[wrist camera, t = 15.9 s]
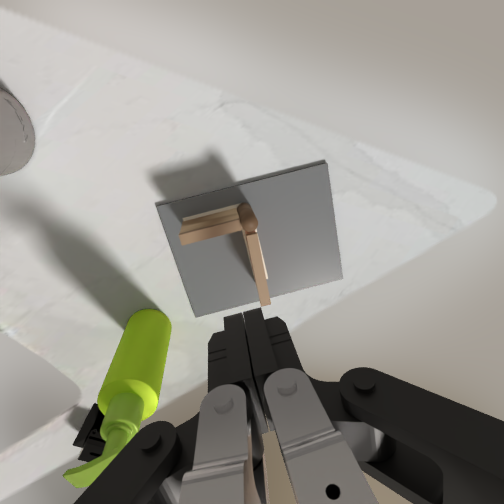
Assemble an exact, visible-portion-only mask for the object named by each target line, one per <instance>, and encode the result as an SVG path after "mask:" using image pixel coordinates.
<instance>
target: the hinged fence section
mask: <svg viewBox="0 0 504 504" xmlns="http://www.w3.org/2000/svg"><path fill="white" fill-rule="evenodd" d="M245 235H246V240H247V244H248V249H249V254H250V259H251V264H252V268H253V273H254V278H255V283H256V287H257V290H258V294H259V299H260V304H261V306H266V305H270V304H271V301H270V296H269V291H268V286H267V281H266V275H265V270H264V265H263V260H262V255H261V250H260V244H259V239H258V234H257V232H256V231H255V230H254V231H252V232H247V231H245Z"/></svg>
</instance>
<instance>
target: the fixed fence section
mask: <svg viewBox="0 0 504 504" xmlns="http://www.w3.org/2000/svg"><path fill="white" fill-rule="evenodd" d="M257 227H258V220H257V218H256V216H255V214H254V212H253V210H252V208H251V206H250V205H249V204H248V203H245V202H244V203H241V204H240V205H239V206H238V207H237V209H236V208H233V209H230V210H226V211H222V212H218V213H214V214H210V215H206V216H202V217H198V218H195V219H191V220H187V221H183V222H182V226H181V230H180V233H179V235H178V236H179V238H180V241H181V244H182V246H183V245H186V244H190V243H194V242H198V241H202V240H206V239H210V238H213V237H217V236H221V235H225V234H229V233H233V232H237V231H241V230H242V228H243V229H244V230H245V231H247V232H252V231H254V230H256V228H257Z"/></svg>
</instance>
